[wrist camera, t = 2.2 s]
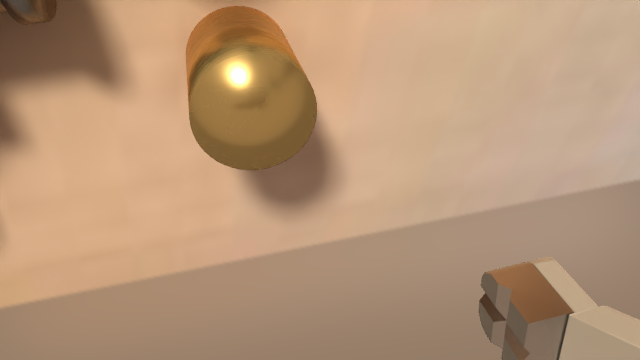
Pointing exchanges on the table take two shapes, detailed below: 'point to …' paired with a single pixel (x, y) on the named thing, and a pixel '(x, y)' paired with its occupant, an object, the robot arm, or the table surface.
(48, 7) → the valve body
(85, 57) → the table surface
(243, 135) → the brass coupling
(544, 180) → the table surface
